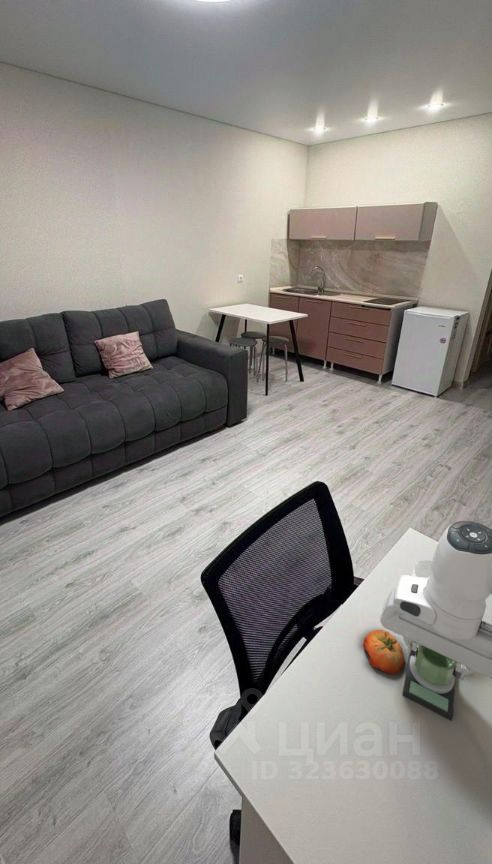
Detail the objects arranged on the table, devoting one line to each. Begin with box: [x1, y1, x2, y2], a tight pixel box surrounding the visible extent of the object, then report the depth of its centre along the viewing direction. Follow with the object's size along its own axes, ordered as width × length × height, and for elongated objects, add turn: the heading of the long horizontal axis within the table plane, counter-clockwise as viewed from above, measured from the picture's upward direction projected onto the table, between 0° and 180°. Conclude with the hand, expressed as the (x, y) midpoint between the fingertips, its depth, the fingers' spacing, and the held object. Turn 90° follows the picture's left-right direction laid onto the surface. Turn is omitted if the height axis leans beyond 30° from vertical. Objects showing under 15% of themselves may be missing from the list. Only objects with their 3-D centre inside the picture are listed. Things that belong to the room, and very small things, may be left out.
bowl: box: [414, 644, 458, 685], centre depth 73 cm, size 6×6×4 cm
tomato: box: [362, 629, 406, 675], centre depth 79 cm, size 8×7×7 cm
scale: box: [401, 641, 456, 722], centre depth 75 cm, size 12×8×3 cm, turn 149°
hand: (433, 663), depth 74 cm, fingers closed on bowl, 6 cm apart
